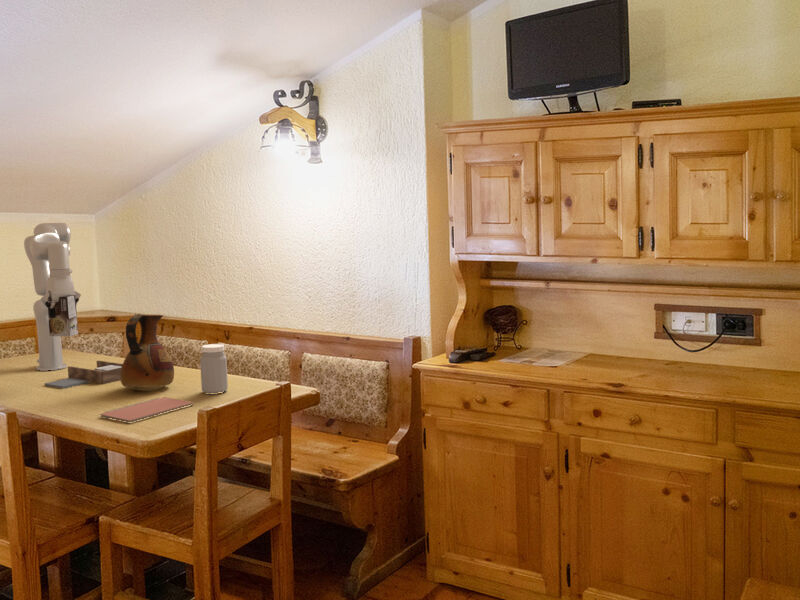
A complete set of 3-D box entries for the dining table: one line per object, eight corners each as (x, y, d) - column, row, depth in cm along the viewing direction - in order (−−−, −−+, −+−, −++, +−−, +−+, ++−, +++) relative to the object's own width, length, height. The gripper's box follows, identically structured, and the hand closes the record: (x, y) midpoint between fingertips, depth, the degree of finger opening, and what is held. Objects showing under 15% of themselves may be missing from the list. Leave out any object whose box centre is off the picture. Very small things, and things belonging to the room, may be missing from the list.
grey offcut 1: (95, 380, 313) (94, 368, 313) (112, 376, 320) (111, 365, 319) (100, 381, 311) (100, 369, 311) (117, 377, 318) (117, 365, 317)
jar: (211, 396, 281) (209, 348, 279) (196, 392, 287) (194, 346, 285) (233, 391, 288) (231, 345, 286) (217, 387, 295) (215, 342, 293)
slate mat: (44, 385, 304) (44, 383, 303) (71, 379, 314) (71, 377, 314) (62, 389, 297) (62, 386, 297) (89, 382, 307) (89, 380, 307)
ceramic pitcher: (185, 385, 301) (181, 310, 297) (152, 396, 282) (148, 317, 278) (144, 382, 307) (140, 309, 304) (110, 393, 288) (105, 316, 285)
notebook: (162, 401, 277) (162, 395, 277) (194, 406, 268) (194, 401, 268) (98, 418, 254) (97, 412, 254) (130, 425, 245) (129, 419, 245)
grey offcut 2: (102, 381, 311) (101, 369, 310) (118, 377, 318) (117, 366, 317) (108, 382, 309) (107, 370, 308) (124, 378, 316) (124, 366, 315)
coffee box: (78, 334, 306) (76, 294, 304) (70, 336, 300) (67, 296, 298) (57, 333, 307) (55, 294, 305) (48, 336, 301) (46, 296, 299)
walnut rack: (68, 378, 317) (67, 366, 316) (99, 371, 330) (98, 360, 329) (103, 384, 305) (102, 371, 304) (134, 376, 318) (133, 365, 317)
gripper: (73, 271, 310) (75, 313, 312) (33, 274, 295) (36, 318, 297) (84, 272, 306) (87, 314, 308) (45, 275, 291) (48, 319, 293)
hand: (62, 316), depth 302 cm, fingers closed on coffee box, 8 cm apart
